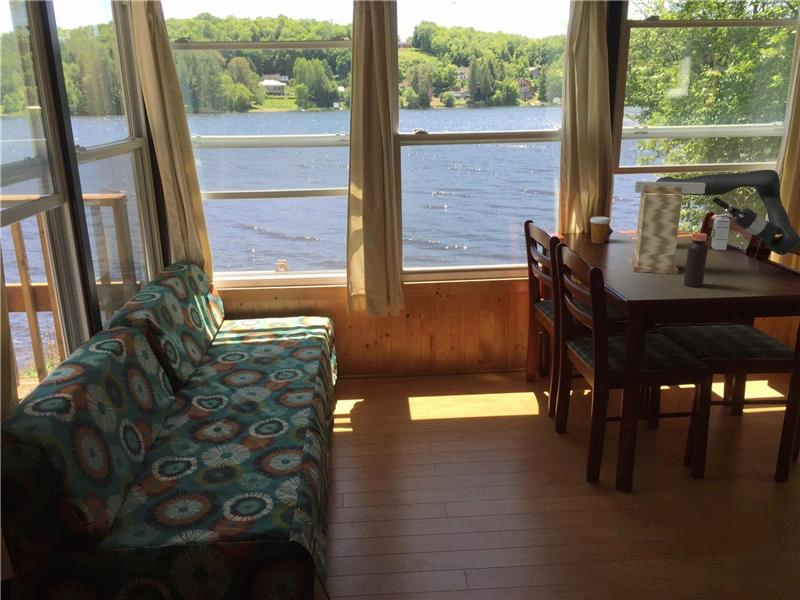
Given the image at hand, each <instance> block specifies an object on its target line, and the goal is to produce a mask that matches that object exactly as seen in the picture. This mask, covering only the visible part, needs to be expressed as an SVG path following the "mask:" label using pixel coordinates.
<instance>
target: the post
mask: <svg viewBox="0 0 800 600" xmlns="http://www.w3.org/2000/svg"><path fill="white" fill-rule="evenodd" d="M681 192H682V187H645V189H644V193H640V199H639V209H638V216H637V217H638V219H637V226H636V227H637V228H636V234H635V235H636V237H635V247H634V257H633V258H629V262H628V263H629V265H630V267H631V269H632V271H633V273H644V272H651V273H650V274H666V273H669V274H670V275H672V274H673V275H678V273H679V269H678V267H677V266H676V264H675V260H676V259H675V258H676V251H677V243H678V234H679V225H680V219H681V209H682V202H683V195H682V194H681ZM669 274H668V275H669Z"/></svg>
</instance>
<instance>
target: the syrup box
mask: <svg viewBox="0 0 800 600" xmlns="http://www.w3.org/2000/svg"><path fill="white" fill-rule="evenodd" d="M730 223H731V220H730V219H729V218H728V217H723V216H721V217H720V216H717V217H714V219H713V226H712V235H711V245H710V248H711V249H712V250H717V251H718V250H720V251H726V250H727V246H728V245H727V244H728V237H729V230H730Z"/></svg>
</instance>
